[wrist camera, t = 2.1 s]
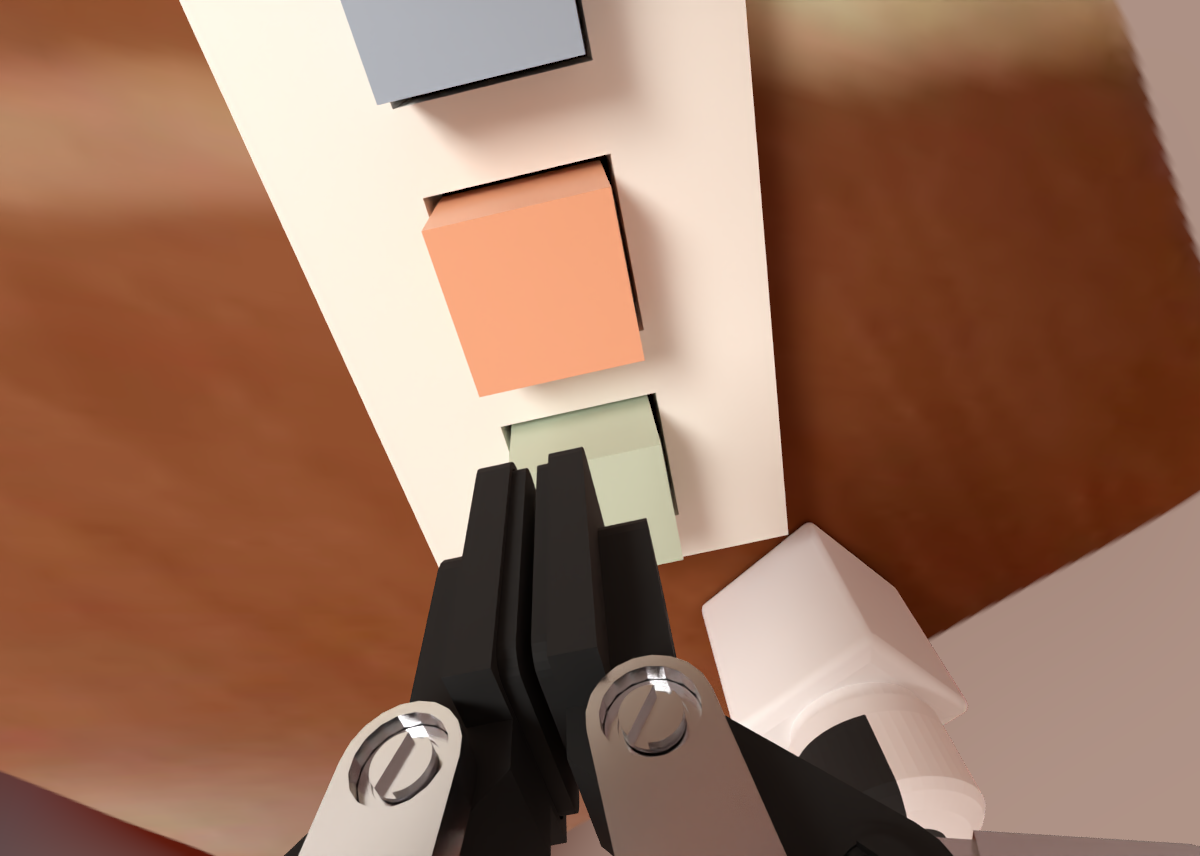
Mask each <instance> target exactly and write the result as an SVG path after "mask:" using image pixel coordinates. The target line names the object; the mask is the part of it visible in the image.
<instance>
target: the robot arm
mask: <svg viewBox="0 0 1200 856" xmlns="http://www.w3.org/2000/svg"><path fill="white" fill-rule="evenodd" d="M579 790H580V793H581V795H582V798H583V800H584V803H585V806H586V808H587V811H588V813H589V816H590V818H591V821H592V823H593V826H594V828H595V831H596V834H597V836H598V838H599V841H600V844H601V846H602V847H603V848H604V849H606V850H607V851H608V852H609V853H610V854H611V855H613V856H1200V846H1196V845H1192V844H1183V843H1167V842H1151V841H1136V840H1119V839H1103V838H1088V837H1072V836H1055V835H1041V834H1024V833H1009V832H992V831H977V830H973V837H972V840H971V839H956V838H941V837H935V836H934V835H932V834H931V833H930V832H928V831H927V830H925V829H924V828H923V827H921V826H920V825H919V824H917V823H916V822H914V821H912V820H910V819H908V818H907V817H905V816H903V815H901V814H900V813H898V812H896V811H894V810H892V809H891V808H889V807H887V806H885V805H884V804H882V803H880V802H878V801H876V800H875V799H873V798H871V797H869V796H868V795H866V794H864V793H862V792H860V791H859V790H857V789H855V788H853V787H851V786H850V785H848V784H846V783H844V782H843V781H841V780H839V779H837V778H835V777H834V776H832V775H830V774H828V773H827V772H825V771H823V770H821V769H819V768H818V767H816V766H814V765H812V764H811V763H809V762H807V761H805V760H803V759H802V758H800V757H798V756H796V755H795V754H793V753H791V752H789V751H787V750H786V749H784V748H782V747H780V746H779V745H777V744H775V743H773V742H771V741H770V740H768V739H766V738H764V737H762V736H761V735H759V734H757V733H755V732H754V731H752V730H750V729H748V728H746V727H745V726H743V725H741V724H739V723H738V722H736V721H734V720H732V719H730V718H729V717H727V716H725V715H724V713H723V711H722V709H721V706H720V704H719V702H718V700H717V697H716V695H715V693H714V691H713V688H712V687H711V685H710V684H709V682H708V681H707V679H706V678H705V676H704V675H703V673H702V672H700V671H699V670H698V669H696V668H695V667H694V666H692V665H691V664H690V663H688V662H686V661H683V660H680V659H677V658H676V653H675V648H674V643H673V638H672V633H671V629H670V624H669V619H668V614H667V609H666V604H665V599H664V595H663V590H662V585H661V580H660V576H659V571H658V566H657V562H656V557H655V553H654V548H653V544H652V539H651V535H650V530H649V526H648V522H647V518H643V519H639V520H634V521H629V522H624V523H619V524H615V525H610V526H605V525H604V521H603V518H602V514H601V510H600V506H599V503H598V499H597V495H596V491H595V488H594V484H593V480H592V476H591V472H590V469H589V465H588V461H587V457H586V454H585V451H584V448H583V447H578V448H574V449H569V450H564V451H560V452H555V453H550V454H549V455H548V463H547V464H542V465H538V466H537V478H536V488H535V485H534V482H533V479H532V476H531V473H530V471H529V469H528V468H524V469H519V470H517V467H516V466H515V464H514V463H513V462H508V463H504V464H499V465H494V466H490V467H485V468H481V469H478V471H477V474H476V479H475V485H474V491H473V497H472V502H471V508H470V514H469V520H468V525H467V531H466V537H465V543H464V549H463V554H462V556H461V557H456V558H452V559H447V560H444V561H443V562H442V563H441V564H440V566H439V569H438V573H437V577H436V582H435V587H434V591H433V596H432V601H431V605H430V610H429V615H428V619H427V624H426V629H425V633H424V638H423V643H422V647H421V652H420V657H419V661H418V666H417V671H416V675H415V680H414V685H413V689H412V694H411V699H410V703H406V704H401V705H399V706H397V707H395V708H393V709H390V710H388V711H386V712H384V713H382V714H381V715H379V716H378V717H377V718H375V719H374V720H373V721H371V722H370V723H369V724H367V725H366V726H365V727H364V728H363V729H362V730H361V731H360V732H359V733H358V735H357V736H356V737H355V738H354V739H353V740H352V741H351V742H350V744H349V746H348V747H347V749H346V751H345V753H344V754H343V756H342V758H341V759H340V761H339V764H338V766H337V768H336V771H335V773H334V775H333V777H332V780H331V782H330V784H329V787H328V789H327V791H326V793H325V796H324V798H323V800H322V803H321V805H320V807H319V810H318V812H317V814H316V816H315V819H314V821H313V823H312V826H311V828H310V830H309V832H308V834H306V835H305V836H304V837H303V838H302V839H301V840H300V841H299V842H298V843H297V844H296V845H295V846H294V847H293V848H292V849H291V850H290V851H289V852H287V853H286V854H285V855H284V856H550V855H551V845H555V844H561V843H566V842H567V836H566V834H567V832H566V815H571V814H576V813H578V811H579Z"/></svg>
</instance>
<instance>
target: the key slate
mask: <svg viewBox="0 0 1200 856" xmlns="http://www.w3.org/2000/svg"><path fill="white" fill-rule="evenodd" d="M340 1H341V4H342V7H343V9H344V12H345V15H346V18H347V21H348V24H349V26H350V29H351V32H352V35H353V38H354V41H355V44H356V46H357V49H358V52H359V55H360V58H361V61H362V64H363V66H364V69H365V72H366V75H367V78H368V81H369V84H370V86H371V89H372V92H373V95H374V98H375V101H376V104H377V105H381V104H385V103H389V102H393V101H397V100H401V99H405V98H409V97H413V96H417V95H422V94H426V93H430V92H434V91H438V90H442V89H446V88H450V87H454V86H458V85H462V84H466V83H470V82H475V81H479V80H483V79H487V78H491V77H495V76H499V75H503V74H507V73H511V72H515V71H519V70H523V69H528V68H532V67H536V66H540V65H544V64H548V63H552V62H556V61H560V60H564V59H568V58H572V57H576V56H581V55H585V50H584V44H583V39H582V34H581V29H580V24H579V19H578V14H577V8H576V3H575V0H340Z"/></svg>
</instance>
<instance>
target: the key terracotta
mask: <svg viewBox="0 0 1200 856" xmlns="http://www.w3.org/2000/svg"><path fill="white" fill-rule="evenodd" d="M421 232H422V235H423V238H424V241H425V243H426V246H427V249H428V252H429V255H430V258H431V260H432V263H433V266H434V269H435V272H436V275H437V278H438V280H439V283H440V286H441V289H442V292H443V295H444V298H445V300H446V303H447V306H448V309H449V312H450V315H451V318H452V320H453V323H454V326H455V329H456V332H457V335H458V338H459V340H460V343H461V346H462V349H463V352H464V355H465V358H466V360H467V363H468V366H469V369H470V372H471V375H472V377H473V380H474V383H475V386H476V389H477V392H478V395H479V397H483V396H488V395H492V394H497V393H501V392H506V391H510V390H515V389H519V388H524V387H528V386H533V385H537V384H542V383H546V382H551V381H555V380H560V379H564V378H568V377H573V376H577V375H582V374H586V373H591V372H595V371H600V370H604V369H609V368H613V367H618V366H622V365H627V364H631V363H636V362H640V361H645V359H644V354H643V349H642V343H641V338H640V333H639V328H638V323H637V318H636V313H635V307H634V302H633V297H632V292H631V287H630V282H629V276H628V271H627V266H626V261H625V256H624V251H623V246H622V240H621V235H620V230H619V225H618V220H617V215H616V209H615V204H614V199H613V194H612V189H611V185H610V183H609V181H608V178H607V176H606V174H605V171H604V169H603V167H602V164H601V162H600V160H596V161H592V162H588V163H584V164H579V165H575V166H571V167H567V168H562V169H558V170H554V171H550V172H546V173H541V174H537V175H533V176H529V177H525V178H520V179H516V180H512V181H508V182H504V183H499V184H495V185H491V186H487V187H483V188H478V189H474V190H470V191H466V192H462V193H457V194H453V195H449V196H445V197H441V199H440V201H439V202H438V204H437V206H436V207H435V209H434V211H433V212H432V214H431V216H430V217H429V219H428V221H427V223H426V224H425V226H424V228H423V229H422V231H421Z"/></svg>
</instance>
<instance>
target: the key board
mask: <svg viewBox="0 0 1200 856" xmlns="http://www.w3.org/2000/svg"><path fill="white" fill-rule="evenodd" d="M179 1H180V3H181V5H182V7H183V10H184V12H185V14H186V16H187V18H188V20H189V23H190V25H191V27H192V29H193V31H194V34H195V36H196V38H197V40H198V42H199V44H200V47H201V49H202V51H203V53H204V55H205V58H206V60H207V62H208V64H209V66H210V68H211V71H212V73H213V75H214V77H215V79H216V82H217V84H218V86H219V88H220V90H221V93H222V95H223V97H224V99H225V101H226V103H227V106H228V108H229V110H230V112H231V114H232V117H233V119H234V121H235V123H236V125H237V127H238V130H239V132H240V134H241V136H242V138H243V141H244V143H245V145H246V147H247V149H248V151H249V154H250V156H251V158H252V160H253V162H254V165H255V167H256V169H257V171H258V173H259V176H260V178H261V180H262V182H263V184H264V186H265V189H266V191H267V193H268V195H269V197H270V200H271V202H272V204H273V206H274V208H275V210H276V213H277V215H278V217H279V219H280V221H281V224H282V226H283V228H284V230H285V232H286V234H287V237H288V239H289V241H290V243H291V245H292V248H293V250H294V252H295V254H296V256H297V259H298V261H299V263H300V265H301V267H302V269H303V272H304V274H305V276H306V278H307V280H308V283H309V285H310V287H311V289H312V291H313V293H314V296H315V298H316V300H317V302H318V304H319V307H320V309H321V311H322V313H323V315H324V317H325V320H326V322H327V324H328V326H329V328H330V331H331V333H332V335H333V337H334V339H335V342H336V344H337V346H338V348H339V350H340V352H341V355H342V357H343V359H344V361H345V363H346V366H347V368H348V370H349V372H350V374H351V376H352V379H353V381H354V383H355V385H356V387H357V390H358V392H359V394H360V396H361V398H362V400H363V403H364V405H365V407H366V409H367V411H368V414H369V416H370V418H371V420H372V422H373V425H374V427H375V429H376V431H377V433H378V435H379V438H380V440H381V442H382V444H383V446H384V449H385V451H386V453H387V455H388V457H389V459H390V462H391V464H392V466H393V468H394V470H395V473H396V475H397V477H398V479H399V481H400V483H401V486H402V488H403V490H404V492H405V494H406V497H407V499H408V501H409V503H410V505H411V508H412V510H413V512H414V514H415V516H416V518H417V521H418V523H419V525H420V527H421V529H422V532H423V534H424V536H425V538H426V540H427V542H428V545H429V547H430V549H431V551H432V553H433V556H434V558H435V560H436V562H437V564H438V566H440V564H441V563H442V562H443V561H444V560H447V559H452V558H456V557H461V556H462V554H463V549H464V543H465V537H466V531H467V525H468V520H469V514H470V508H471V502H472V497H473V491H474V485H475V479H476V474H477V471H478V469H481V468H485V467H490V466H494V465H499V464H504V463H508V462H509V453H510V440H511V427H512V424H516V423H520V422H525V421H529V420H534V419H538V418H543V417H547V416H552V415H557V414H561V413H566V412H570V411H575V410H579V409H584V408H588V407H593V406H597V405H602V404H606V403H611V402H615V401H620V400H624V399H629V398H633V397H638V396H643V395H647V394H652V396H653V402H654V407H655V412H656V417H657V422H658V427H659V433H660V438H661V443H662V448H663V453H664V458H665V464H666V469H667V471H666V472H667V477H668V483H669V488H670V493H671V498H672V503H673V508H674V514H675V519H676V524H677V529H678V534H679V539H680V545H681V550H682V555H683V557H684V556H689V555H694V554H698V553H703V552H708V551H713V550H718V549H722V548H727V547H732V546H737V545H741V544H746V543H751V542H756V541H761V540H765V539H770V538H775V537H780V536H784V535H788V525H787V513H786V500H785V488H784V475H783V463H782V450H781V438H780V426H779V413H778V401H777V388H776V376H775V363H774V351H773V338H772V326H771V313H770V301H769V289H768V276H767V264H766V251H765V239H764V226H763V214H762V201H761V189H760V177H759V164H758V152H757V139H756V127H755V114H754V102H753V89H752V77H751V65H750V52H749V40H748V27H747V15H746V2H745V0H576V3H577V8H578V14H579V19H580V24H581V29H582V34H583V39H584V45H585V50H586V55H587V56H585V57H581V58H577V59H573V60H569V61H564V62H560V63H556V64H552V65H548V66H544V67H540V68H536V69H532V70H528V71H524V72H520V73H516V74H511V75H507V76H503V77H499V78H495V79H491V80H487V81H483V82H479V83H475V84H471V85H467V86H462V87H458V88H454V89H450V90H446V91H442V92H438V93H434V94H430V95H426V96H422V97H418V98H414V99H411V98H410V97H409V98H405V99H401V100H397V101H393V102H389V103H385V104H381V105H377V104H376V101H375V98H374V95H373V92H372V89H371V86H370V84H369V81H368V78H367V75H366V72H365V69H364V66H363V64H362V61H361V58H360V55H359V52H358V49H357V46H356V44H355V41H354V38H353V35H352V32H351V29H350V26H349V24H348V21H347V18H346V15H345V12H344V9H343V7H342V4H341V1H340V0H179ZM602 155H606V158H607V164H608V169H609V174H610V179H611V184H612V189H613V195H614V200H615V205H616V210H617V215H618V221H619V226H620V231H621V236H622V241H623V246H624V252H625V257H626V262H627V267H628V272H629V277H630V283H631V288H632V293H633V298H634V299H633V302H634V307H635V313H636V318H637V323H638V328H639V333H640V338H641V343H642V349H643V354H644V359H645V361H640V362H636V363H631V364H627V365H622V366H618V367H613V368H609V369H604V370H600V371H595V372H591V373H586V374H582V375H577V376H573V377H568V378H564V379H560V380H555V381H551V382H546V383H542V384H537V385H533V386H528V387H524V388H519V389H515V390H510V391H506V392H501V393H497V394H492V395H488V396H483V397H479V395H478V392H477V389H476V386H475V383H474V380H473V377H472V375H471V372H470V369H469V366H468V363H467V360H466V358H465V355H464V352H463V349H462V346H461V343H460V340H459V338H458V335H457V332H456V329H455V326H454V323H453V320H452V318H451V315H450V312H449V309H448V306H447V303H446V300H445V298H444V295H443V292H442V289H441V286H440V283H439V280H438V278H437V275H436V272H435V269H434V266H433V263H432V260H431V258H430V255H429V252H428V249H427V246H426V243H425V241H424V238H423V235H422V232H421V231H422V229H423V228H424V226H425V224H426V223H427V221H428V219H429V217H430V216H431V214H432V212H433V211H434V209H435V207H436V206H437V204H438V202H439V201H440V199H441V197H443V196H442V194H443V193H447V192H451V191H455V190H460V189H464V188H468V187H472V186H476V185H481V184H485V183H489V182H493V181H497V180H502V179H506V178H510V177H514V176H518V175H523V174H527V173H531V172H535V171H539V170H544V169H548V168H552V167H556V166H560V165H565V164H569V163H573V162H577V161H581V160H586V159H590V158H594V157H598V156H602Z"/></svg>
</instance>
